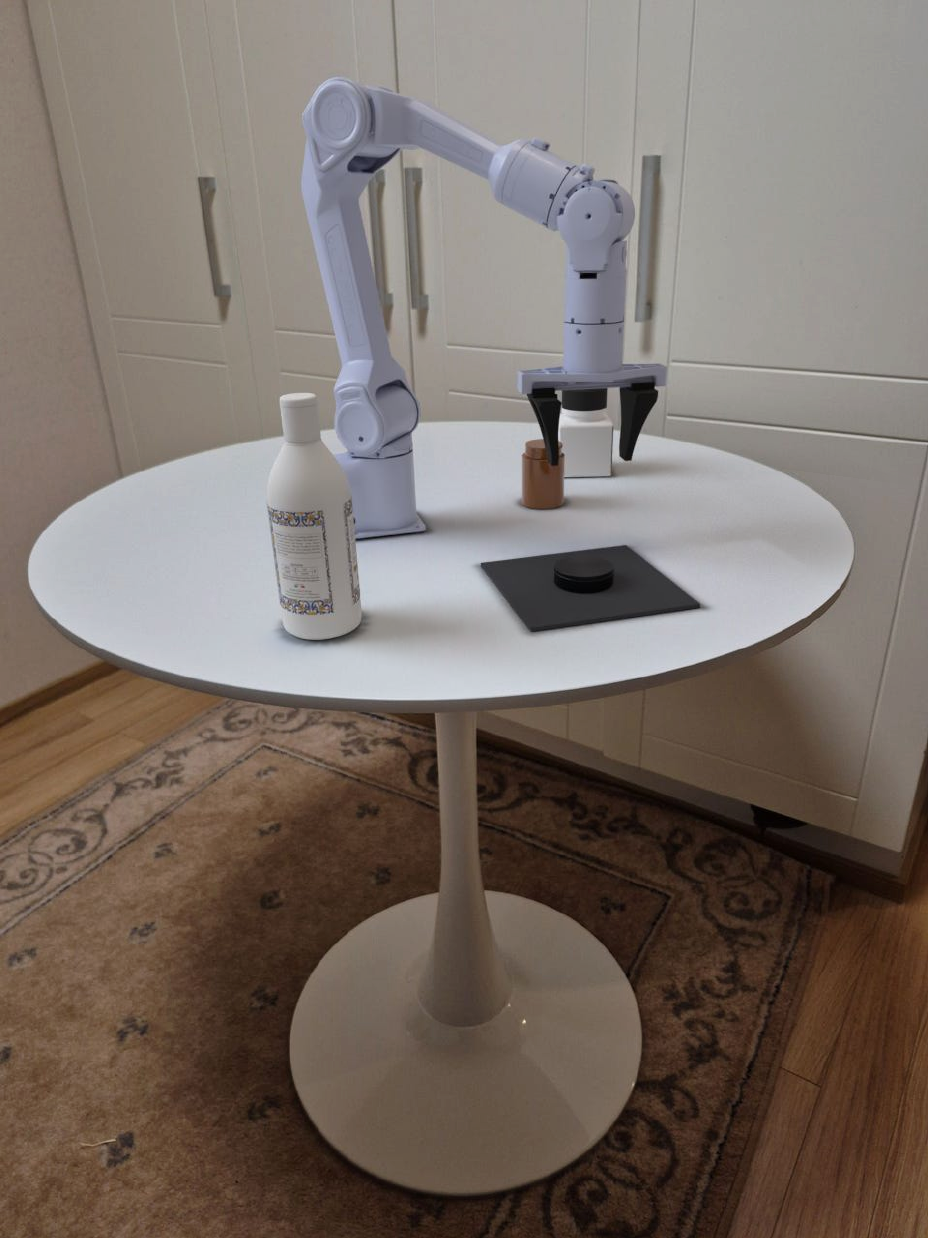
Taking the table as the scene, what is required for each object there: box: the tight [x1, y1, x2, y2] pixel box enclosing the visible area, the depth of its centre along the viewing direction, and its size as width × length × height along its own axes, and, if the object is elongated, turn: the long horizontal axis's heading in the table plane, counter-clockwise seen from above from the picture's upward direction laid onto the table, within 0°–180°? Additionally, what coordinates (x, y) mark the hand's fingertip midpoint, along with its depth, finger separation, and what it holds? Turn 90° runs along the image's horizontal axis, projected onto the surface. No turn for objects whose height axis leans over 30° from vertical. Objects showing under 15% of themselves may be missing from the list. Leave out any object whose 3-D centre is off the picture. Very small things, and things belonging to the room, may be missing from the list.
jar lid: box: [554, 555, 614, 593], centre depth 82 cm, size 6×6×2 cm
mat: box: [480, 544, 701, 632], centre depth 82 cm, size 16×16×1 cm
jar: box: [521, 438, 565, 510], centre depth 105 cm, size 5×5×7 cm
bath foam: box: [266, 392, 363, 641], centre depth 72 cm, size 7×7×20 cm
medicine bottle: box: [558, 382, 614, 478], centre depth 116 cm, size 7×7×12 cm
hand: (589, 460), depth 88 cm, fingers open, 7 cm apart
